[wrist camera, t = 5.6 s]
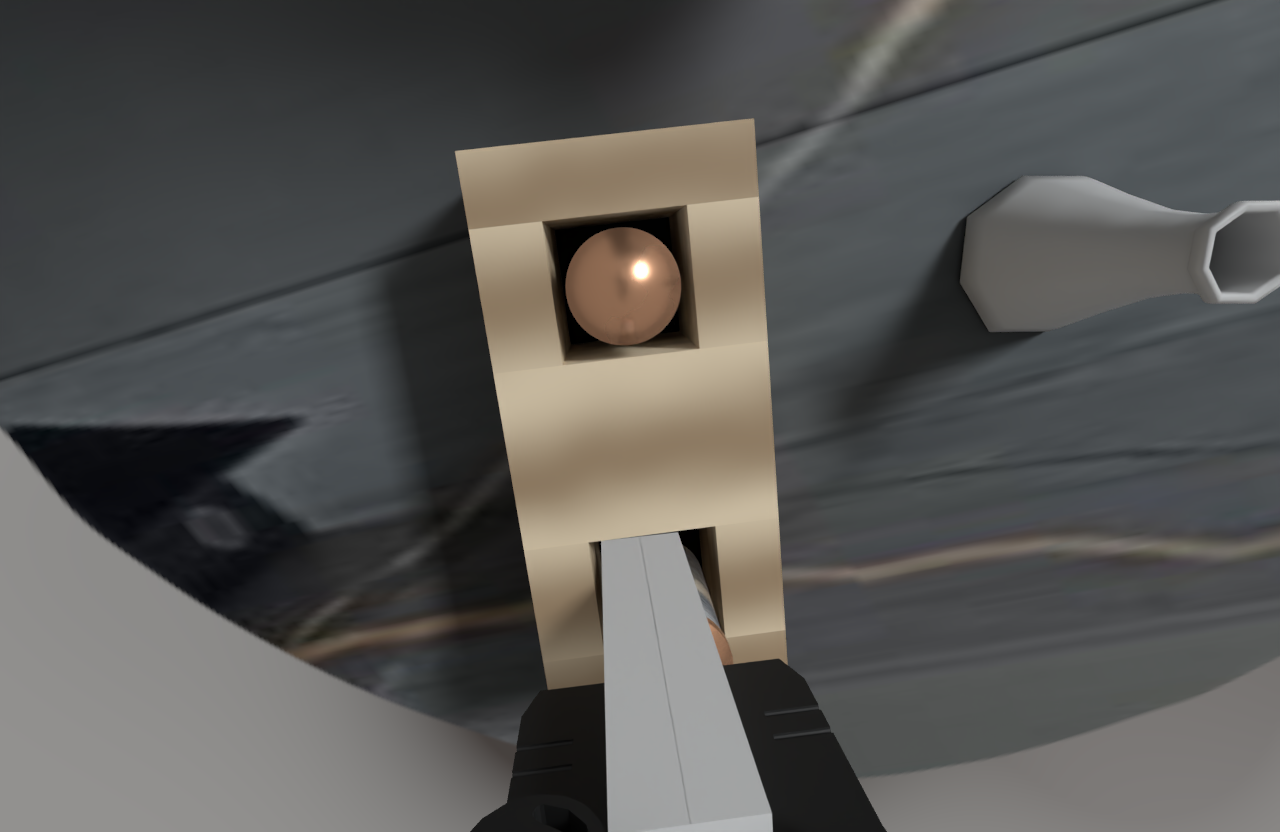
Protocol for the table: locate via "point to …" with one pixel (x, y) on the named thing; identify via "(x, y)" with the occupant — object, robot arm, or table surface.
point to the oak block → (633, 379)
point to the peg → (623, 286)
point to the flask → (1108, 253)
